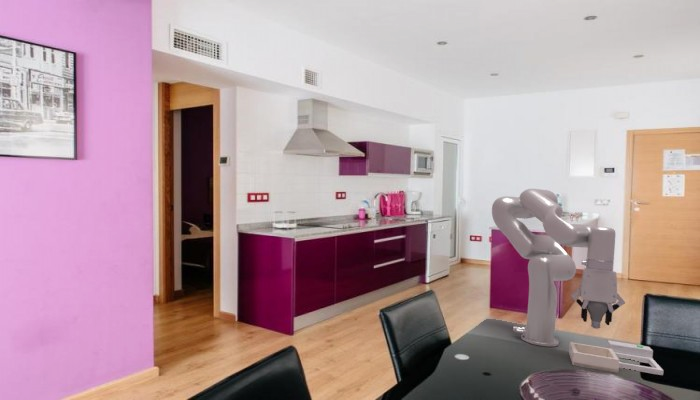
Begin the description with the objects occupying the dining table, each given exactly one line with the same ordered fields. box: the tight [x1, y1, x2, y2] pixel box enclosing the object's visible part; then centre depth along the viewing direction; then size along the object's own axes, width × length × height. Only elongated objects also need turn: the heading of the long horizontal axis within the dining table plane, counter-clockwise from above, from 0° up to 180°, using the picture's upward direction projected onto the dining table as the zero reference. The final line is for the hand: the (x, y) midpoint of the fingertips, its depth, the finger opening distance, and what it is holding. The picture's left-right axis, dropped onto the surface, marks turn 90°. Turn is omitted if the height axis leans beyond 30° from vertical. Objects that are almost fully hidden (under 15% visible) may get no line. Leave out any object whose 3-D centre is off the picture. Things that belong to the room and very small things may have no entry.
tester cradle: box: [606, 340, 664, 376], centre depth 150 cm, size 12×17×5 cm
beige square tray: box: [568, 341, 620, 374], centre depth 147 cm, size 12×12×4 cm
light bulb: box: [586, 301, 608, 330], centre depth 147 cm, size 6×6×10 cm
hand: (595, 321), depth 147 cm, fingers closed on light bulb, 5 cm apart
